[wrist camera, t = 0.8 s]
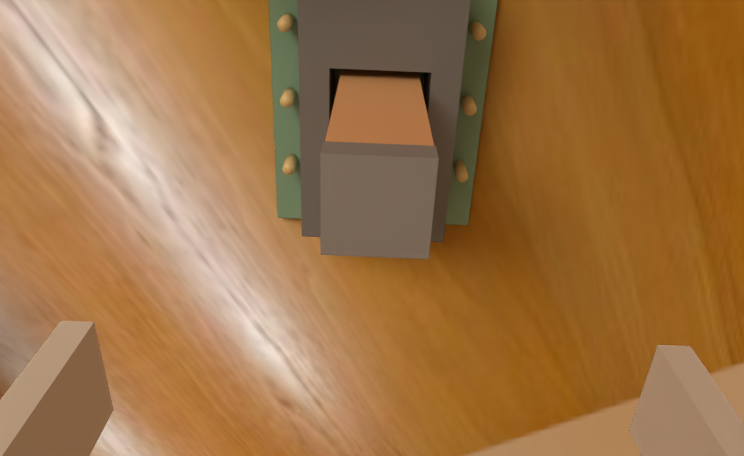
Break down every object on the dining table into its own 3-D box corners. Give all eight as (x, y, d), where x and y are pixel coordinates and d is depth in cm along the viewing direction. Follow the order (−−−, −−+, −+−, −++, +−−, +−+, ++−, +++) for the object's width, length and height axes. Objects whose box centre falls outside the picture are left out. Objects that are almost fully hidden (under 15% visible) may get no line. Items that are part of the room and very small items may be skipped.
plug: (343, 58, 33) (320, 153, 21) (417, 61, 33) (438, 158, 21) (341, 130, 35) (320, 254, 23) (412, 132, 35) (428, 259, 23)
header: (267, -65, 31) (251, -60, 27) (503, -55, 31) (520, -48, 27) (278, 213, 38) (267, 249, 34) (466, 221, 38) (476, 258, 34)
